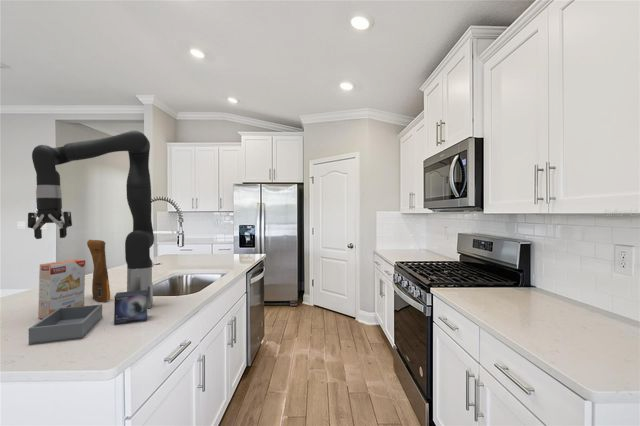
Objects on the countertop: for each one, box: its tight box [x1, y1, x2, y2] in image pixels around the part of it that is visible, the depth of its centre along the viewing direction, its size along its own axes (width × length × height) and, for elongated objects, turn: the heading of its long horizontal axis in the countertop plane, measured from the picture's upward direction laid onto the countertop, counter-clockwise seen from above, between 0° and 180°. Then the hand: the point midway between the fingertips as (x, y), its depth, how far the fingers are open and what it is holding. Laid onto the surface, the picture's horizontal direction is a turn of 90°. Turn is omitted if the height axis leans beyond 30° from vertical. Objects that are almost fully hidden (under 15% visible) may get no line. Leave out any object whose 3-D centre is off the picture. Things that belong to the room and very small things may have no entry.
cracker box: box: [37, 259, 86, 320], centre depth 123 cm, size 14×6×21 cm, turn 168°
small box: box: [113, 290, 148, 326], centre depth 116 cm, size 11×6×10 cm, turn 117°
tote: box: [28, 304, 103, 346], centre depth 107 cm, size 14×22×5 cm, turn 21°
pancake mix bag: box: [86, 239, 111, 303], centre depth 144 cm, size 7×19×28 cm, turn 48°
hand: (50, 238), depth 121 cm, fingers open, 8 cm apart
